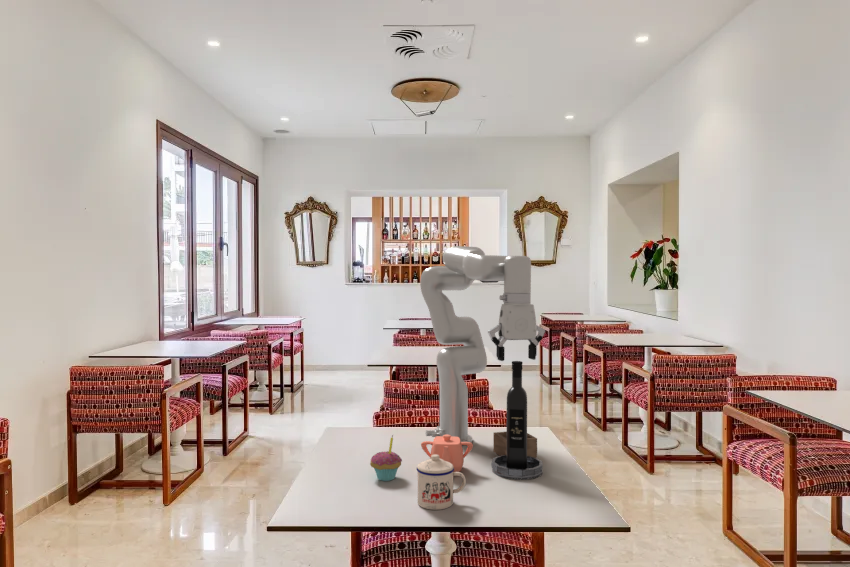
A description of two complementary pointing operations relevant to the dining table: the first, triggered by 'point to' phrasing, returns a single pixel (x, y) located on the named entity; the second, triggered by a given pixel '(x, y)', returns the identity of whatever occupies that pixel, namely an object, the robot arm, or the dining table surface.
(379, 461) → the cupcake
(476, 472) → the dining table surface
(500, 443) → the open square wooden box
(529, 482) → the dining table surface
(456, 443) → the teapot
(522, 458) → the wine bottle
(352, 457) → the dining table surface
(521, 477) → the serving bowl
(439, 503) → the teacup with lid
